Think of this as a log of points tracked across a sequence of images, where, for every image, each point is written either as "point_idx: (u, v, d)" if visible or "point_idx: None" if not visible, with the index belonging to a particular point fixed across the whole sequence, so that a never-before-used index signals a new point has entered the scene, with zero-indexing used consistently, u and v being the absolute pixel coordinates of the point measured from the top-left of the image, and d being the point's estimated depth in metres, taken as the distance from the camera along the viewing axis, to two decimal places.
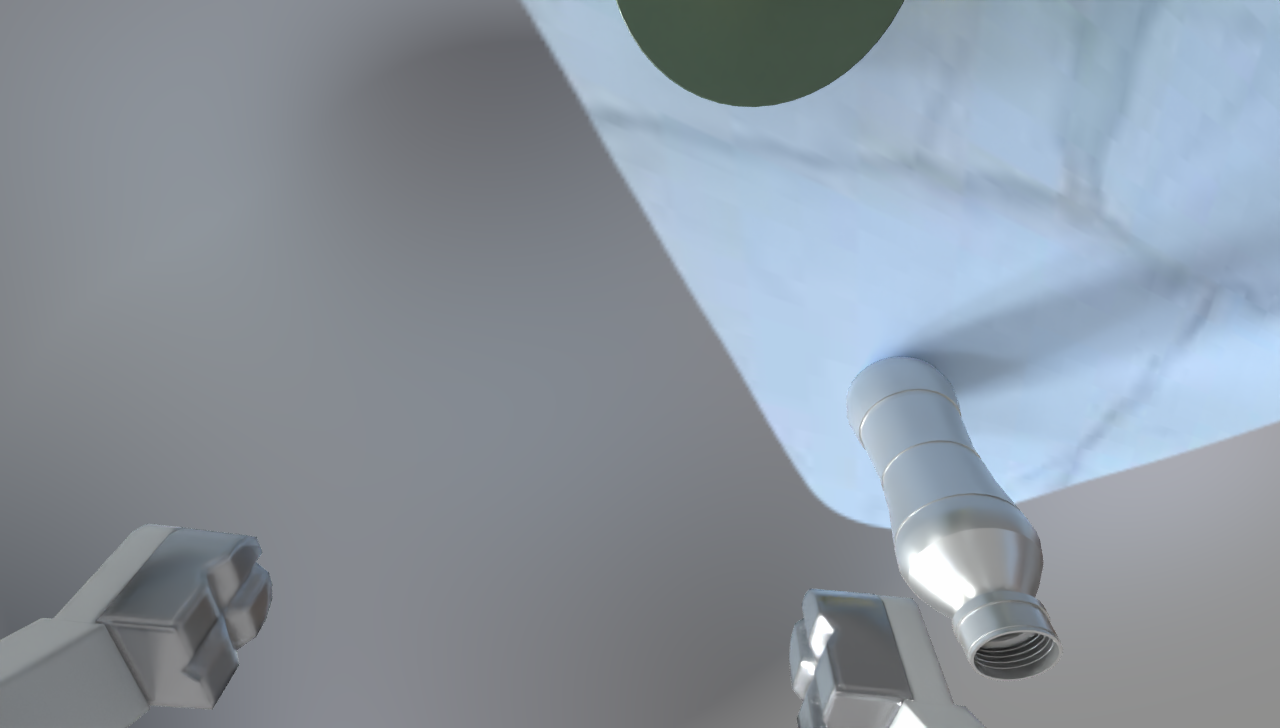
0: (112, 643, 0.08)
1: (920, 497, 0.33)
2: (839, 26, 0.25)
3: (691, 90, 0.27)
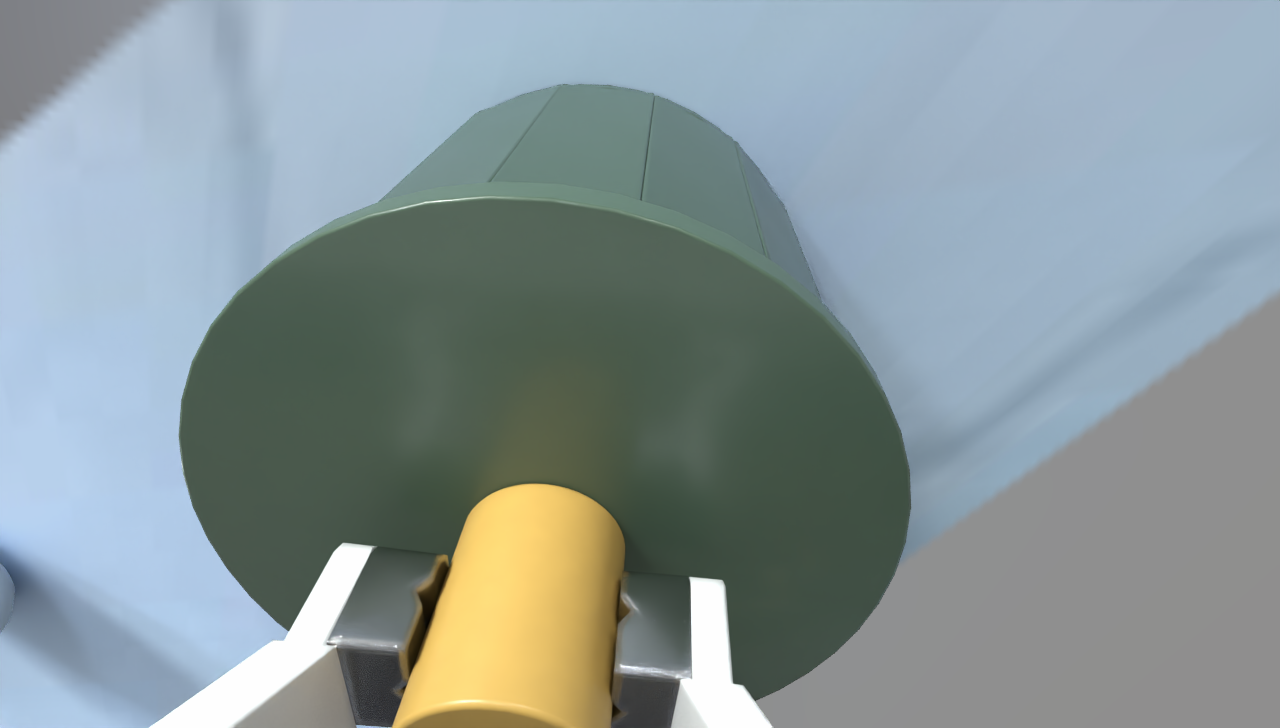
0: (339, 665, 0.08)
1: None
2: None
3: (184, 414, 0.10)
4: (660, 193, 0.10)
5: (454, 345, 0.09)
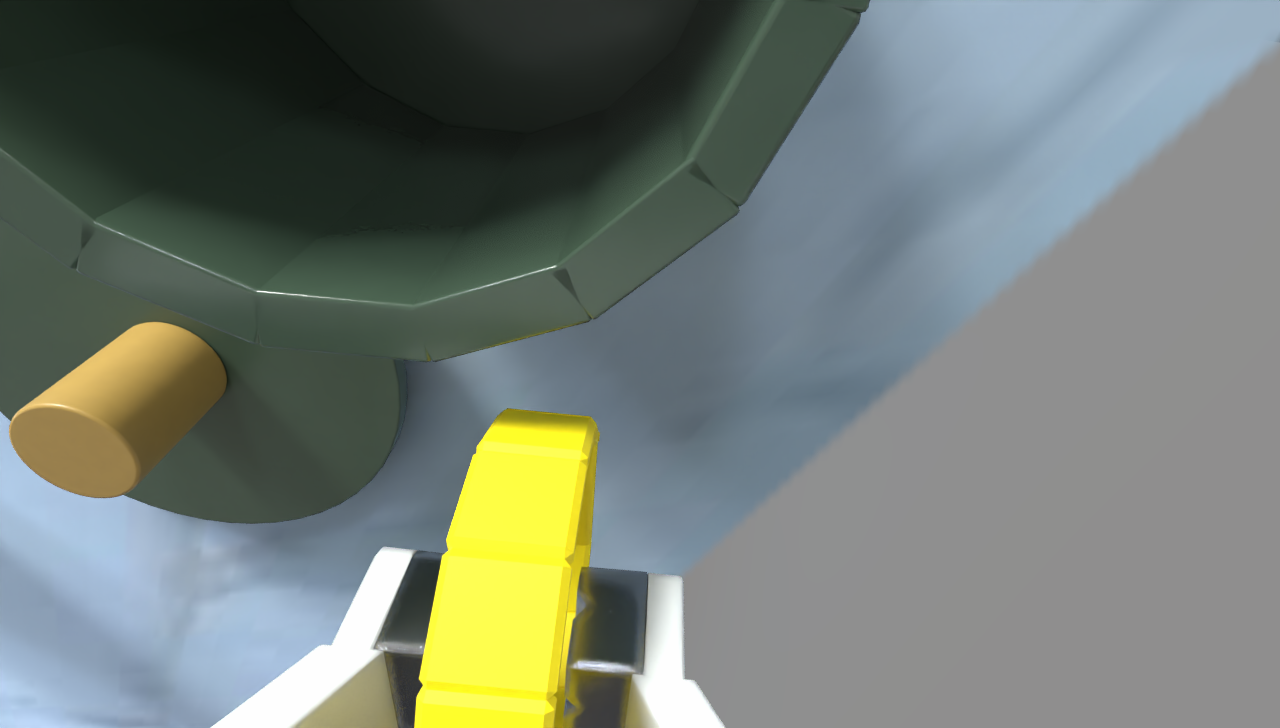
0: (385, 669, 0.08)
1: None
2: None
3: None
4: None
5: None
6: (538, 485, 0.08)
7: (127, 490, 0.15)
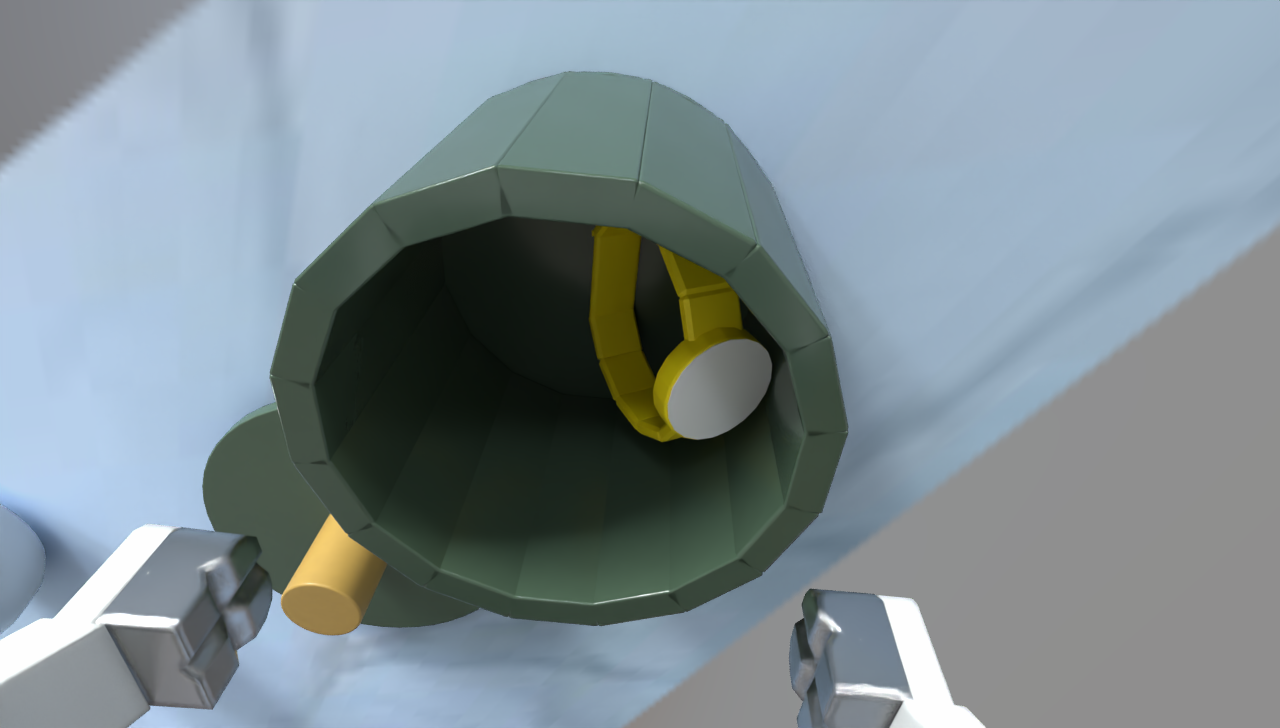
0: (112, 643, 0.08)
1: None
2: None
3: (205, 477, 0.24)
4: (657, 160, 0.11)
5: None
6: None
7: (350, 631, 0.22)
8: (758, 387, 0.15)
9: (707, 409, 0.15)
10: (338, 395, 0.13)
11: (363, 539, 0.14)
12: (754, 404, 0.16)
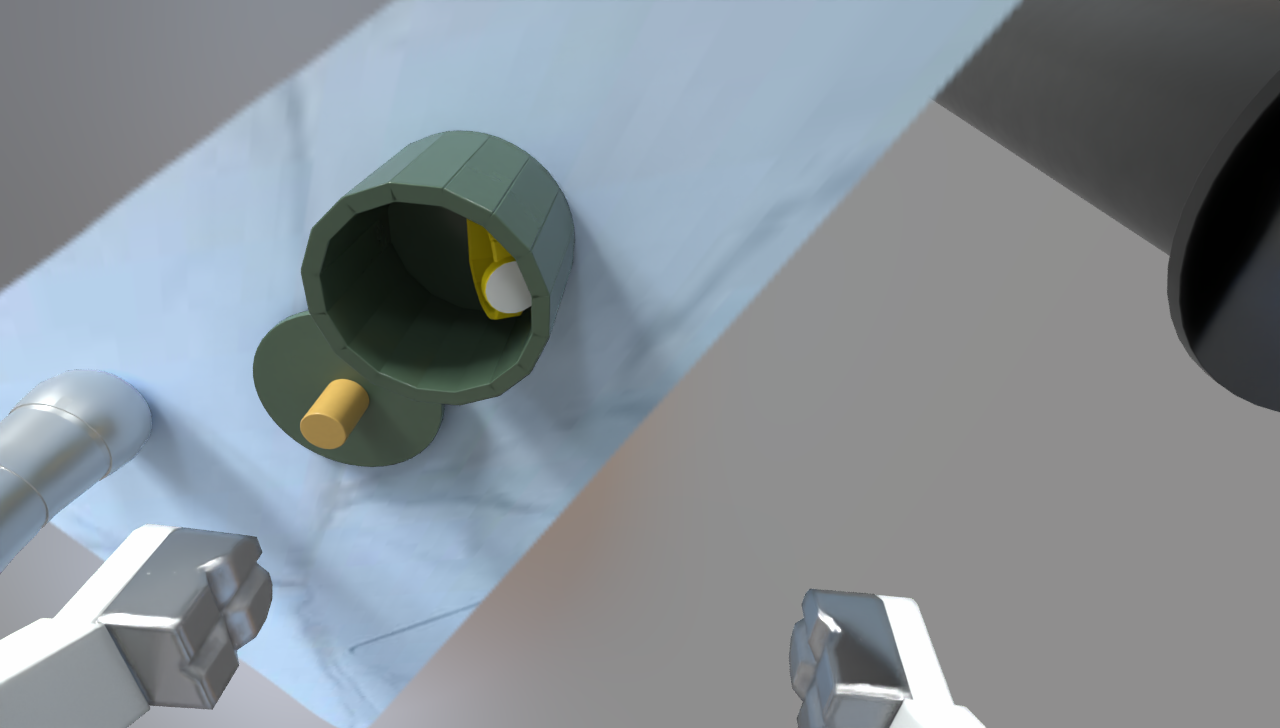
0: (112, 643, 0.08)
1: None
2: None
3: (254, 361, 0.40)
4: (460, 179, 0.27)
5: (317, 344, 0.39)
6: None
7: (339, 446, 0.38)
8: None
9: (508, 296, 0.31)
10: (330, 283, 0.30)
11: (342, 355, 0.31)
12: None
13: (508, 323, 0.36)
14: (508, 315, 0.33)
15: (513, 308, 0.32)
